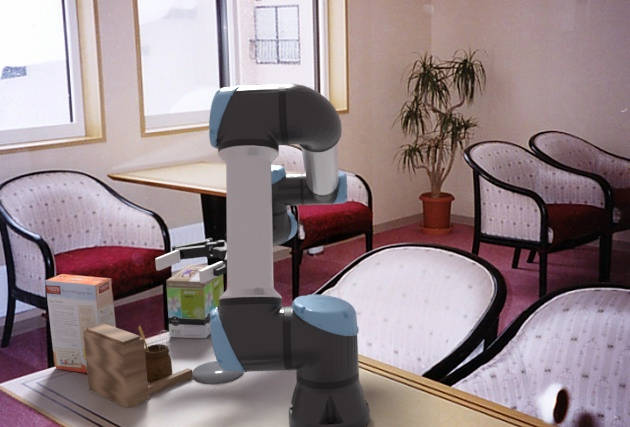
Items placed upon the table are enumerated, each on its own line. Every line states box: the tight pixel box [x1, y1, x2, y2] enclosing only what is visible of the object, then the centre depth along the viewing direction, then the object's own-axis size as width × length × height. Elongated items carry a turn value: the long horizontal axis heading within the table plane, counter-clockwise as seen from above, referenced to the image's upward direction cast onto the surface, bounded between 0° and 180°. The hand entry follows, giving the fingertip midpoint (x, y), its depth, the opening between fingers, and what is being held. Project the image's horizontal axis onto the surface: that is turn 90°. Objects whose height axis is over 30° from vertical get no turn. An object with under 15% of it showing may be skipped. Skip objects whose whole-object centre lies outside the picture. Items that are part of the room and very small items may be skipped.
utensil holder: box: [137, 325, 173, 384], centre depth 173 cm, size 6×6×12 cm
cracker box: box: [44, 273, 117, 374], centre depth 180 cm, size 14×6×21 cm, turn 65°
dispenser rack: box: [83, 323, 194, 409], centre depth 171 cm, size 14×18×14 cm
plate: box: [192, 360, 244, 384], centre depth 176 cm, size 11×11×1 cm
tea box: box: [165, 264, 225, 339], centre depth 204 cm, size 15×10×15 cm, turn 168°
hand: (178, 270), depth 174 cm, fingers open, 13 cm apart
